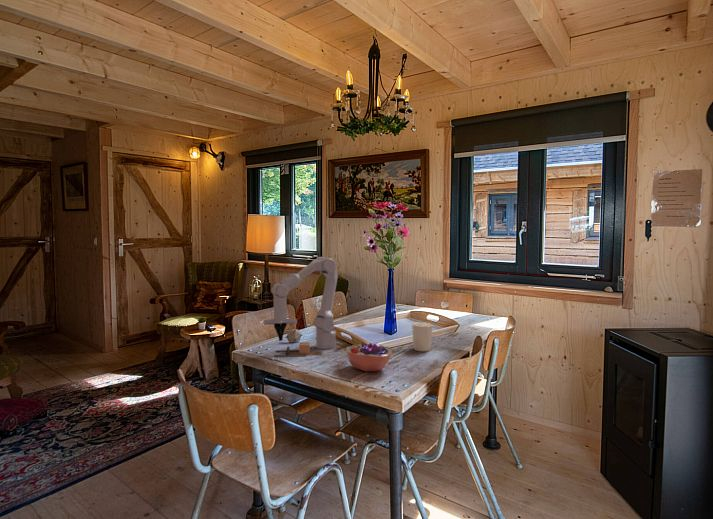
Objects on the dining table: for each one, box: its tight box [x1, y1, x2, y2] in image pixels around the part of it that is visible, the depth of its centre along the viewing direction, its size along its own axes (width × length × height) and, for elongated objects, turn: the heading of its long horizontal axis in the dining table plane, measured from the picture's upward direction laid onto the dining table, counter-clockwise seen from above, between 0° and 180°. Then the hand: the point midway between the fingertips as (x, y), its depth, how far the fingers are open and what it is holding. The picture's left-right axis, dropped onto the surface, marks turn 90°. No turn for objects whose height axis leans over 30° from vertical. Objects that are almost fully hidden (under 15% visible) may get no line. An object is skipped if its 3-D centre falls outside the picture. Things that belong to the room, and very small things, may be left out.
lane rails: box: [273, 349, 307, 358], centre depth 195 cm, size 14×8×2 cm, turn 95°
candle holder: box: [411, 321, 434, 352], centre depth 207 cm, size 10×10×12 cm
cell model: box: [345, 342, 393, 372], centre depth 177 cm, size 17×20×11 cm
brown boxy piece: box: [285, 346, 323, 357], centre depth 195 cm, size 16×6×4 cm, turn 95°
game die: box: [284, 327, 302, 344], centre depth 216 cm, size 9×8×10 cm
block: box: [298, 341, 311, 356], centre depth 195 cm, size 4×4×4 cm
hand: (280, 340), depth 194 cm, fingers closed
